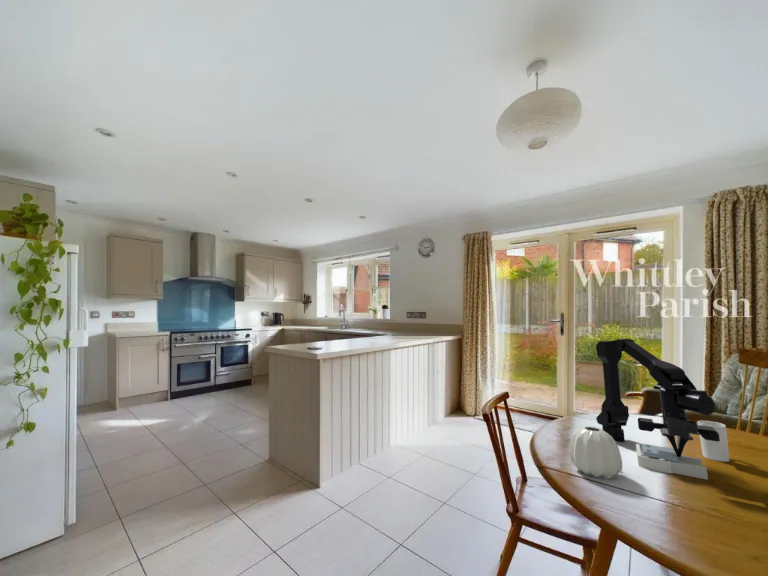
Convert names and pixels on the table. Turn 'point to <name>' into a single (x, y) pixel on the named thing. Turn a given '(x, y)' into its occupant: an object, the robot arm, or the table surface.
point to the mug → (715, 443)
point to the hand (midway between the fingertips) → (678, 456)
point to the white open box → (673, 465)
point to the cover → (659, 452)
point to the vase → (595, 452)
